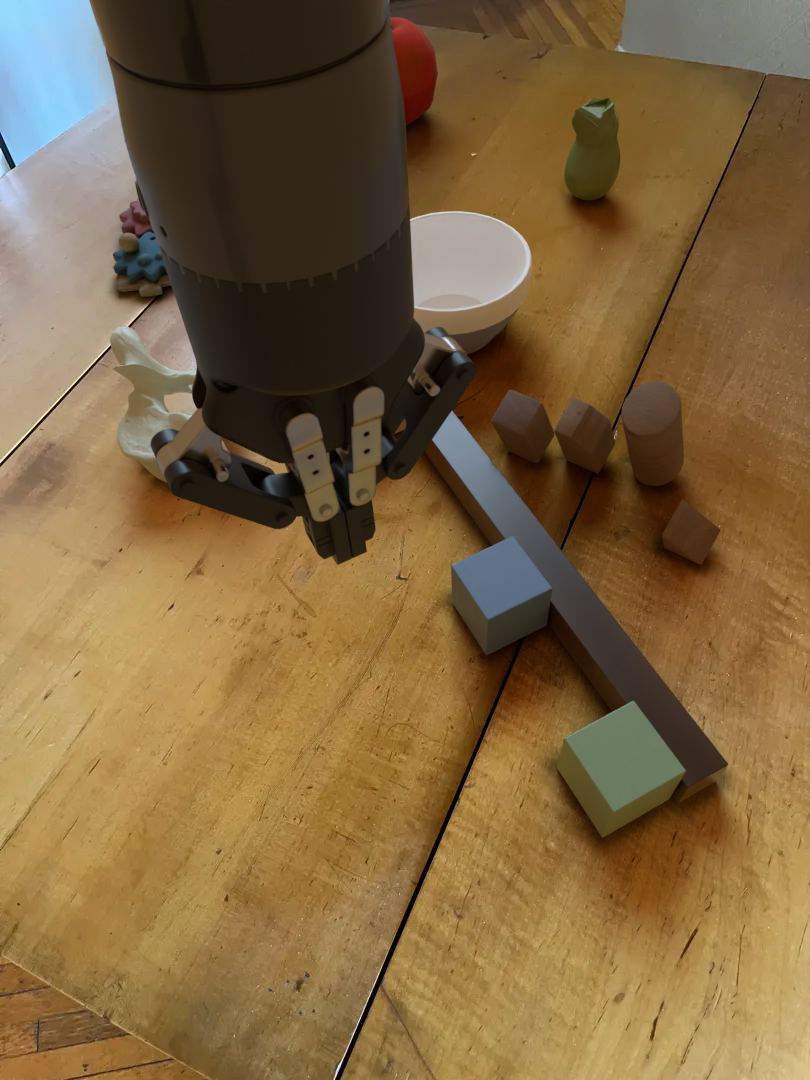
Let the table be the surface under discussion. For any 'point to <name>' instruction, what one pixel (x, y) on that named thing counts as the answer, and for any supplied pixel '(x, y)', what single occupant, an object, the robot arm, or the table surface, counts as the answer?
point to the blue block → (500, 595)
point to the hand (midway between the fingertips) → (343, 544)
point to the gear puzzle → (139, 255)
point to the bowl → (467, 275)
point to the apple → (414, 67)
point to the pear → (593, 150)
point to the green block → (619, 768)
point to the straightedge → (574, 606)
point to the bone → (146, 398)
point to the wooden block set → (590, 441)
